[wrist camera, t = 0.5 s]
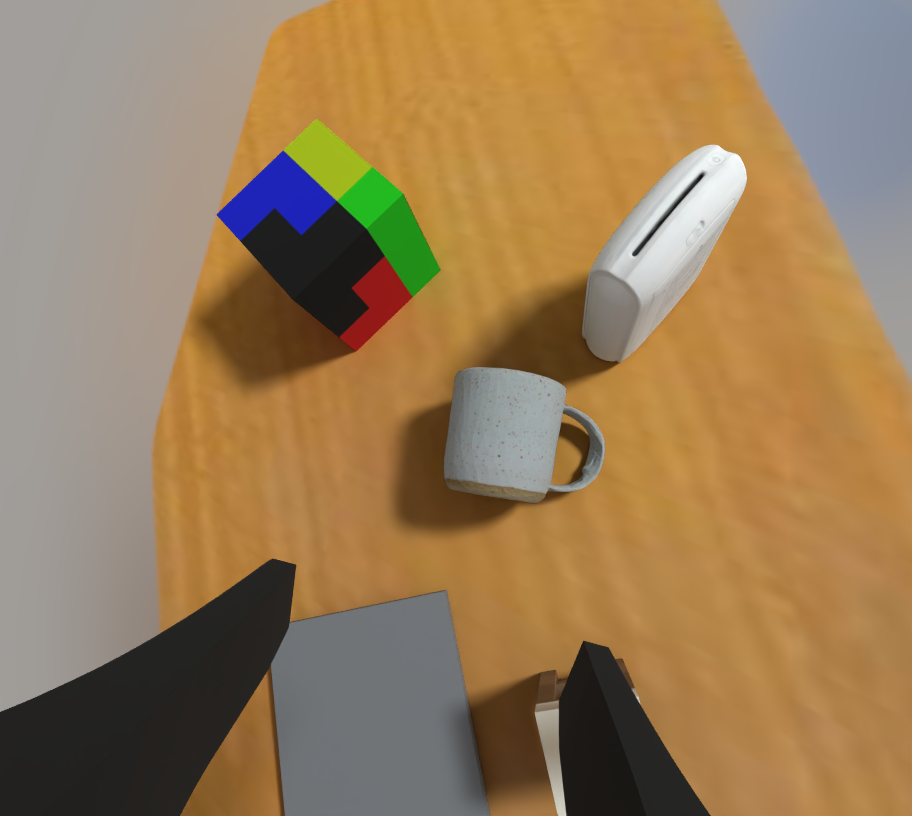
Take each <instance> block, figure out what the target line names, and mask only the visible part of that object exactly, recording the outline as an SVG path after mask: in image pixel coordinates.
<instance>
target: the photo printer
mask: <svg viewBox="0 0 912 816" xmlns="http://www.w3.org/2000/svg"><path fill="white" fill-rule="evenodd" d="M746 180H747V176H746V169H745V167H744V164H743V162H742V160H741V159H740V157H739V156H738V155H737V154H735V153H729V152H727V151H725V150H723V149H722V148H721V147H720V146H718V145H708V146H704V147H702V148H699V149H697V150H696V151H694V152H692V153H691V154H689V155H688V156H686V157H685V158H683V159H682V160H681V161H679V162H678V163H677V164H676V165H675V166H674V167H672V168H671V169H670V170H669V171H668V172H667V173H666V174H665V175H664V176H663V177H662V178H661V179H660V180H659V181H658V182H657V183H656V184H655V185H654V186H653V187H652V188H651V189H650V191H649V192H648V193H647V194H646V195H645V196H644V197H643V198H642V199H641V201H640V202H639V203H638V204H637V205H636V206H635V207H634V209H633V210H632V211H631V212H630V214H629V215H628V216H627V217H626V218H625V220H624V221H623V222H622V223H621V225H620V226H619V227H618V228H617V230H616V231H615V232H614V234H613V235H612V236H611V238H610V239H609V240H608V242H607V243H606V244H605V246H604V247H603V249H602V250H601V252H600V253H599V255H598V257H597V258H596V260H595V262H594V264H593V266H592V268H591V270H590V272H589V275H588V281H587V289H586V299H585V307H584V317H583V328H582V336H583V338H585V339H586V342H587V345H588V347H589V349H590V351H591V352H592V353H593V354H594V355H595V356H597V357H598V358H600V359H602V360H606V361H618V362H619V363H620V362H622V361H623V360H625V359H626V358H627V357H629V356H630V355H631V354H632V353H633V352H634V351H635V350H636V349H637V348H638V347H639V346H640V345H641V344H642V343H643V342H644V341H645V340H646V339H647V337H648V336H649V335H650V334H651V333H652V332H653V331H654V329H655V328H656V327H657V326H658V325H659V324H660V323H661V322H662V320H663V319H664V318H665V317H666V316H667V314H668V313H669V312H670V311H671V310H672V309H673V307H674V306H675V305H676V304H677V303H678V301H679V300H680V299H681V298H682V297H683V295H684V294H685V293H686V292H687V290H688V289H689V288H690V287H691V285H692V284H693V283H694V281H695V280H696V278H697V277H698V275H699V273H700V271H701V269H702V268H703V266H704V264H705V262H706V260H707V258H708V256H709V254H710V253H711V251H712V249H713V247H714V245H715V243H716V241H717V240H718V238H719V236H720V234H721V232H722V230H723V229H724V227H725V225H726V223H727V221H728V219H729V218H730V216H731V214H732V212H733V210H734V208H735V207H736V205H737V203H738V201H739V199H740V197H741V195H742V193H743V191H744V189H745V185H746Z"/></svg>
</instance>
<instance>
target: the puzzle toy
mask: <svg viewBox="0 0 912 816" xmlns="http://www.w3.org/2000/svg"><path fill="white" fill-rule="evenodd" d="M217 216H218V217H219V218H220V219H221V220H222V221H223V223H224V224H225V225H226V226H227V227H228V228H229V229H230V230H231V231H232V233H233V234H234V235H235V236H236V237H237V238H238V239H239V240H240V241H241V243H242V244H243V245H244V246H245V247H246V248H247V249H248V250H249V251H250V253H251V254H252V255H253V256H254V257H255V258H256V259H257V260H258V261H259V262H260V264H261V265H262V266H263V267H264V268H265V269H266V270H267V271H268V272H269V274H270V275H271V276H272V277H273V278H274V279H275V280H276V281H277V282H278V284H279V285H280V286H281V287H282V288H283V289H284V290H285V291H286V292H287V294H288V295H289V296H290V297H291V298H292V299H293V300H294V301H295V302H296V303H298V304H299V305H300V306H301V307H303V308H304V309H305V310H306V311H307V312H309V313H310V314H311V315H312V316H314V317H315V318H316V319H317V320H318V321H320V322H321V323H322V324H323V325H325V326H326V327H327V328H328V329H329V330H331V331H332V332H333V333H334V334H336V335H337V336H338V337H339V338H340V339H342V340H343V341H344V342H345V343H346V344H348V345H349V346H350V347H351V348H353V349H354V350H355V351H357V350H358V349H359V348H360V347H361V346H362V345H364V344H365V343H366V342H367V341H368V340H369V339H370V338H371V337H372V336H373V335H374V334H375V333H376V332H377V331H378V330H379V329H380V328H381V327H382V326H383V325H384V324H385V323H386V322H387V321H388V320H389V319H391V318H392V317H393V316H394V315H395V314H396V313H397V312H398V311H399V310H400V309H401V308H402V307H403V306H404V305H405V304H406V303H407V302H408V301H409V300H410V299H411V298H412V297H413V296H414V295H415V294H416V293H417V292H419V291H420V290H421V289H422V288H423V287H424V286H425V285H426V284H427V283H428V282H429V281H430V280H431V279H432V278H433V277H434V276H435V275H436V274H437V273H438V272H439V271H440V268H439V266H438V264H437V261H436V259H435V257H434V255H433V253H432V251H431V249H430V247H429V245H428V243H427V241H426V239H425V237H424V235H423V233H422V231H421V229H420V227H419V225H418V223H417V221H416V219H415V217H414V215H413V212H412V210H411V208H410V206H409V204H408V202H407V200H406V198H405V196H404V194H403V193H402V192H401V191H400V190H399V189H397V188H396V187H395V186H394V185H393V184H392V183H390V182H389V181H388V180H387V179H386V178H385V177H384V176H382V175H381V174H380V173H379V172H378V171H377V170H375V169H374V168H373V167H372V166H371V165H370V164H369V163H367V162H366V161H365V160H364V159H363V158H362V157H360V156H359V155H358V154H357V153H356V152H355V151H354V150H352V149H351V148H350V147H349V146H348V145H347V144H345V143H344V142H343V141H342V140H341V139H340V138H339V137H337V136H336V135H335V134H334V133H333V132H332V131H330V130H329V129H328V128H327V127H326V126H325V125H324V124H322V123H321V122H320V121H319V120H318V119H315V120H314V121H313V122H312V123H311V124H310V125H309V126H308V127H307V128H306V129H305V130H304V131H303V132H302V133H301V134H300V135H299V136H298V137H297V138H296V139H295V140H294V141H293V142H292V143H290V144H289V145H288V146H287V147H286V148H285V149H284V150H283V151H282V152H281V153H280V154H279V155H278V156H277V157H276V158H275V159H274V160H273V161H272V162H271V163H270V164H269V165H268V166H267V167H265V168H264V169H263V170H262V171H261V172H260V173H259V174H258V175H257V176H256V177H255V178H254V179H253V180H252V181H251V182H250V183H249V184H248V185H247V186H246V187H245V188H244V189H243V190H242V191H241V192H239V193H238V194H237V195H236V196H235V197H234V198H233V199H232V200H231V201H230V202H229V203H228V204H227V205H226V206H225V207H224V208H223V209H222V210H221V211H220V212H219V213H218V214H217Z"/></svg>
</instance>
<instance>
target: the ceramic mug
mask: <svg viewBox="0 0 912 816" xmlns="http://www.w3.org/2000/svg"><path fill="white" fill-rule="evenodd" d="M565 398H566V389H565V387H564V386H563V385H562V384H560V383H559V382H557V381H555V380H552V379H550V378H547V377H544V376H541V375H536V374H533V373H529V372H524V371H520V370H512V369H505V368H487V367H473V368H467V369H464V370H461V371H459V372H458V373H457V374H456V376H455V381H454V390H453V398H452V404H451V412H450V419H449V429H448V437H447V443H446V449H445V456H444V479H445V483H446V485H447V486H448V487H449V488H450V489H451V490H455V491H461V492H466V493H472V494H477V495H483V496H489V497H496V498H503V499H509V500H515V501H521V502H528V503H538V502H540V501H541V500H542V499H544V498H545V495H546V493H547V491H548V490H549V491H557V492H571V491H576V490H580V489H582V488H584V487H586V486H587V485H589V484H590V483H591V482H592V481H593V480H594V479H595V478H596V477H597V475H598V473H599V472H600V470H601V467H602V464H603V460H604V455H605V442H604V438H603V435H602V433H601V431H600V429H599V428H598V426H597V425H596V424H595V422H594V421H592V419H591V418H590V417H588V416H587V415H586V414H584V413H583V412H581V411H579V410H578V409H576V408H574V407H571V406H569V405H566V404H565ZM563 414H566V415H568V416H570V417H572V418H574V419H575V420H576V421H578V422H579V423H581V425H582V426H583V427H584V428H585V429H586V431H587V432H588V434H589V437H590V438H589V440H590V448H589V452H588V457H587V461H586V464H585V466H584V467H583V468H582V473H583V475H582V476H581V477H580V478H579V479H578V480H577V481H575V482H573V483H571V484H568V485H552V484H550V482H551V478H552V474H553V467H554V460H555V452H556V447H557V441H558V436H559V432H560V427H561V421H562V415H563Z"/></svg>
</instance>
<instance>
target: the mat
mask: <svg viewBox="0 0 912 816" xmlns="http://www.w3.org/2000/svg"><path fill="white" fill-rule="evenodd" d="M271 672H272V682H273V693H274V704H275V714H276V725H277V736H278V746H279V757H280V768H281V778H282V789H283V800H284V810H285V816H490V811H489V806H488V801H487V796H486V790H485V785H484V780H483V775H482V770H481V765H480V759H479V754H478V749H477V744H476V739H475V734H474V729H473V723H472V718H471V713H470V708H469V703H468V698H467V693H466V687H465V682H464V677H463V672H462V667H461V662H460V656H459V651H458V646H457V641H456V636H455V631H454V626H453V620H452V615H451V610H450V605H449V600H448V595H447V590H443V591H438V592H433V593H428V594H424V595H419V596H414V597H409V598H404V599H399V600H394V601H390V602H385V603H380V604H375V605H370V606H365V607H361V608H356V609H351V610H346V611H341V612H336V613H332V614H327V615H322V616H317V617H312V618H307V619H303V620H298V621H293V622H289V628H288V630H287V633H286V635H285V637H284V639H283V641H282V643H281V645H280V647H279V649H278V651H277V653H276V655H275V657H274V659H273V661H272V663H271Z"/></svg>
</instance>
